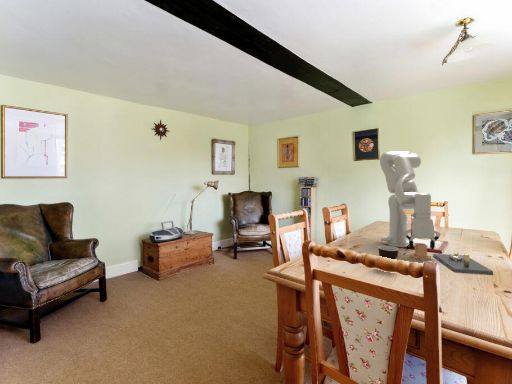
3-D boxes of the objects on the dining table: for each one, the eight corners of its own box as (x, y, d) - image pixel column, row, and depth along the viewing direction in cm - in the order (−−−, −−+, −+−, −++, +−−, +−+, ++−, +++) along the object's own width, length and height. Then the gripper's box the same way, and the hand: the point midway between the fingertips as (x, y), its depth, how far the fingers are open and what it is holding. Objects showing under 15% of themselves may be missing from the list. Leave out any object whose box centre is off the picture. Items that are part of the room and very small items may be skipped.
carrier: (454, 272, 122) (454, 256, 121) (433, 256, 144) (433, 243, 144) (492, 274, 118) (493, 259, 118) (465, 258, 141) (465, 245, 140)
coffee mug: (390, 273, 121) (390, 251, 120) (373, 267, 129) (374, 247, 128) (406, 268, 126) (406, 248, 126) (389, 263, 134) (390, 243, 133)
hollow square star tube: (413, 259, 140) (413, 246, 139) (406, 253, 149) (407, 241, 149) (435, 260, 137) (435, 247, 137) (427, 254, 147) (427, 242, 147)
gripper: (406, 216, 140) (406, 249, 140) (443, 217, 136) (443, 251, 137) (402, 215, 147) (401, 246, 148) (437, 215, 143) (437, 247, 144)
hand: (421, 248), depth 142 cm, fingers open, 9 cm apart
